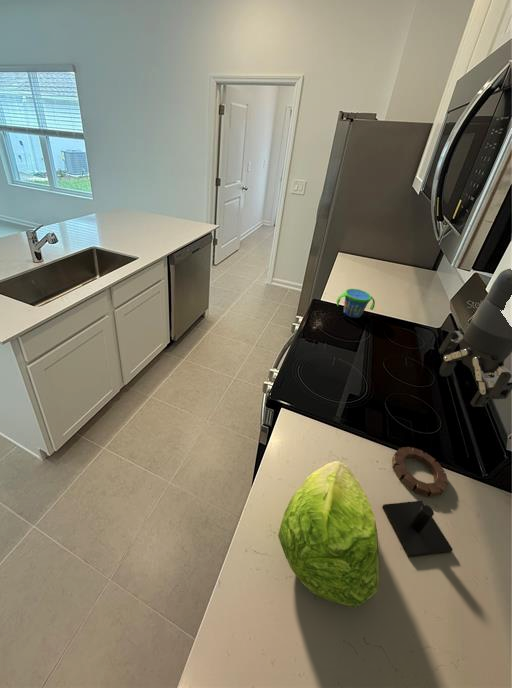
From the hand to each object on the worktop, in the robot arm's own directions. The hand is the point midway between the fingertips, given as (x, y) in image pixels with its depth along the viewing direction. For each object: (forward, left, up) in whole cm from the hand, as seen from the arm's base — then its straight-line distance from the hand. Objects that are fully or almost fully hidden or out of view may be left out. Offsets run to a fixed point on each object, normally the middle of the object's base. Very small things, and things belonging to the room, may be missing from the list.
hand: (458, 389), depth 64 cm
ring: (+2, +3, -24) cm, 24 cm away
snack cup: (-17, -68, -24) cm, 74 cm away
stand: (+11, +14, -24) cm, 30 cm away
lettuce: (+29, +14, -24) cm, 40 cm away
